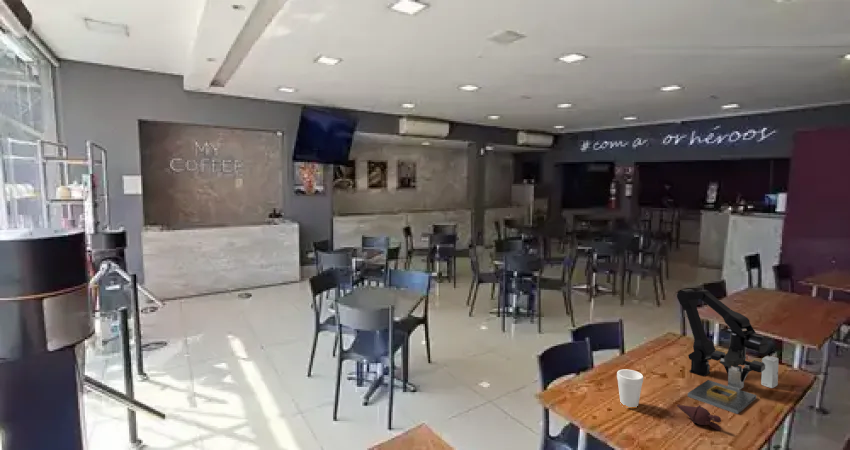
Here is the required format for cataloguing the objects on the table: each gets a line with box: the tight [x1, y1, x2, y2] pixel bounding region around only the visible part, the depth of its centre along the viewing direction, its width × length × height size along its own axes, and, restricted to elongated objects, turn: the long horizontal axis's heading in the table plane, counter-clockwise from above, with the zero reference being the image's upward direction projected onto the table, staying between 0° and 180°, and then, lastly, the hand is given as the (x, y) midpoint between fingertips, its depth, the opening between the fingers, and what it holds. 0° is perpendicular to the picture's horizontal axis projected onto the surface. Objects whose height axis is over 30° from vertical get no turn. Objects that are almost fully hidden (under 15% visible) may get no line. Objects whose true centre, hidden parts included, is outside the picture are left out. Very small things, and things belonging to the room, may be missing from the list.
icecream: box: [676, 404, 722, 431], centre depth 163 cm, size 7×7×15 cm
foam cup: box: [616, 368, 644, 407], centre depth 177 cm, size 10×9×13 cm
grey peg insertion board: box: [687, 379, 757, 415], centre depth 182 cm, size 18×20×3 cm
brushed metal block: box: [727, 365, 745, 390], centre depth 191 cm, size 4×4×10 cm
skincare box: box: [760, 355, 779, 389], centre depth 192 cm, size 6×4×12 cm
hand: (736, 379), depth 191 cm, fingers closed on brushed metal block, 4 cm apart
